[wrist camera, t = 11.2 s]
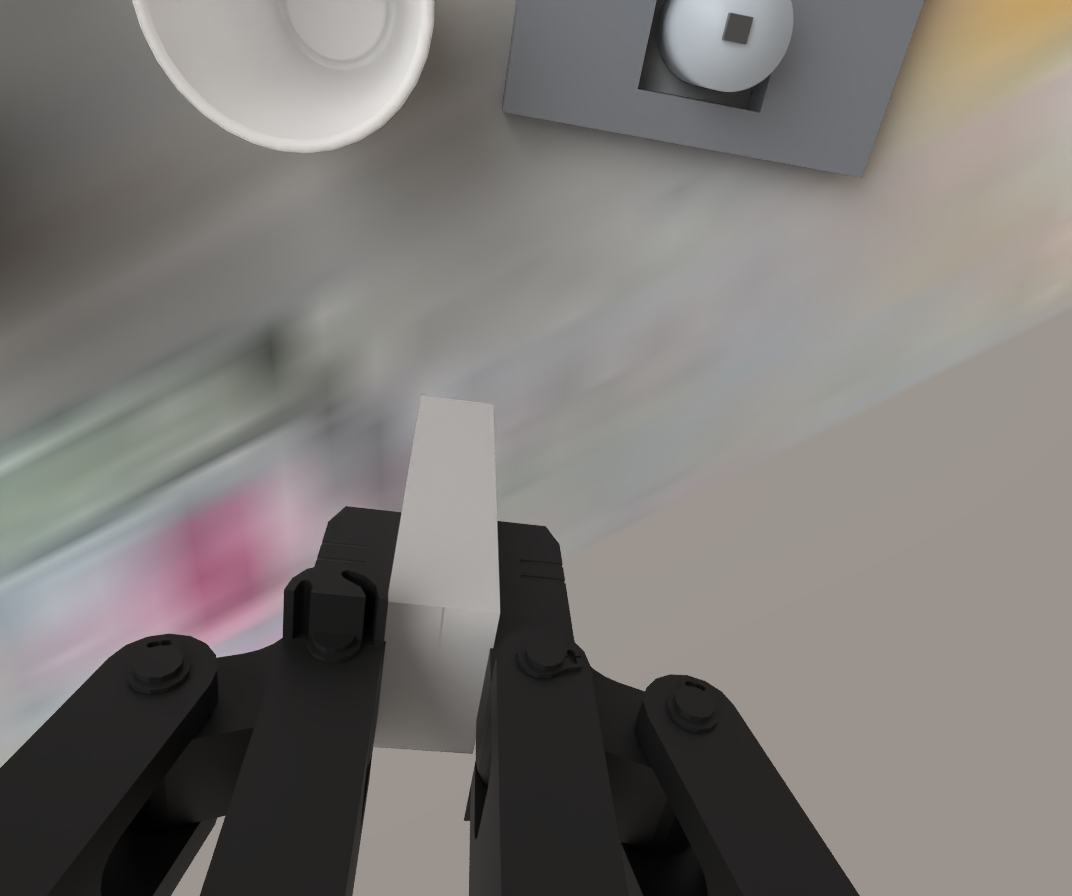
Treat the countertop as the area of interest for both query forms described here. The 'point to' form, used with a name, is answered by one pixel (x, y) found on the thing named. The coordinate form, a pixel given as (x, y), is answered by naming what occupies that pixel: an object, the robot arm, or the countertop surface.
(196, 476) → the countertop surface
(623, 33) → the console
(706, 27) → the button one
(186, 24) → the cup
